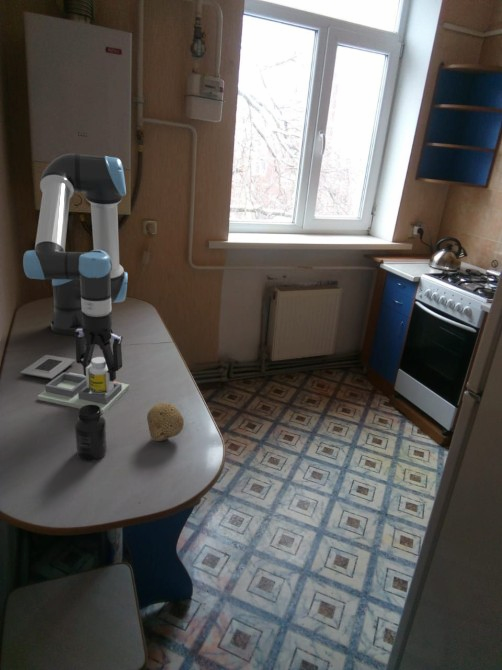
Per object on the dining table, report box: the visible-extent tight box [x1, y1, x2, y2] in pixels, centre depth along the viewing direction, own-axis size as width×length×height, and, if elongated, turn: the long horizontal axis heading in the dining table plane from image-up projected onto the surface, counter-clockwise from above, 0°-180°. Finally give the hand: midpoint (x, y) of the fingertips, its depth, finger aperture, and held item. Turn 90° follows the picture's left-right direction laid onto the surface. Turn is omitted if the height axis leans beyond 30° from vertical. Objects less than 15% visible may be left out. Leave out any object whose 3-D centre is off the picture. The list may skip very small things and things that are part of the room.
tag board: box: [37, 371, 130, 415], centre depth 131 cm, size 15×20×3 cm
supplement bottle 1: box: [89, 356, 108, 395], centre depth 127 cm, size 5×5×10 cm
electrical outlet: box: [19, 354, 76, 380], centre depth 142 cm, size 13×10×2 cm
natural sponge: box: [146, 402, 184, 442], centre depth 113 cm, size 9×9×10 cm
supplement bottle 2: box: [74, 405, 108, 462], centre depth 106 cm, size 7×7×12 cm
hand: (100, 387), depth 129 cm, fingers closed on supplement bottle 1, 5 cm apart
